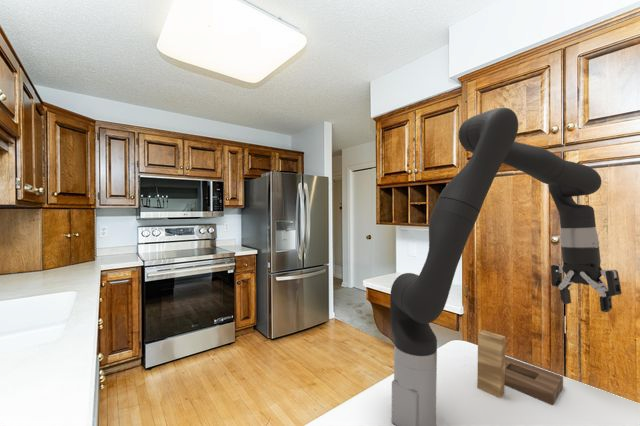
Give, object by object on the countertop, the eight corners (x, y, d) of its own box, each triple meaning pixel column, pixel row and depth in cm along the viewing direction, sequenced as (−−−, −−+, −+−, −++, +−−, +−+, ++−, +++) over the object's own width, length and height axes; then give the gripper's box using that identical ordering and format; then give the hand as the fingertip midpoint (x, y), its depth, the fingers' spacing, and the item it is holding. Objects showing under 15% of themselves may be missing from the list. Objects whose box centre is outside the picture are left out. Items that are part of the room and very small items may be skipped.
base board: (552, 405, 71) (552, 393, 71) (482, 375, 83) (483, 365, 83) (563, 387, 78) (563, 376, 78) (497, 362, 90) (497, 353, 90)
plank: (500, 398, 74) (501, 339, 73) (477, 387, 78) (478, 332, 78) (504, 393, 76) (505, 336, 75) (481, 383, 80) (482, 329, 80)
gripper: (541, 244, 82) (546, 302, 81) (603, 247, 68) (610, 317, 68) (559, 243, 84) (565, 299, 83) (623, 245, 71) (630, 312, 70)
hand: (585, 307), depth 75 cm, fingers open, 8 cm apart
